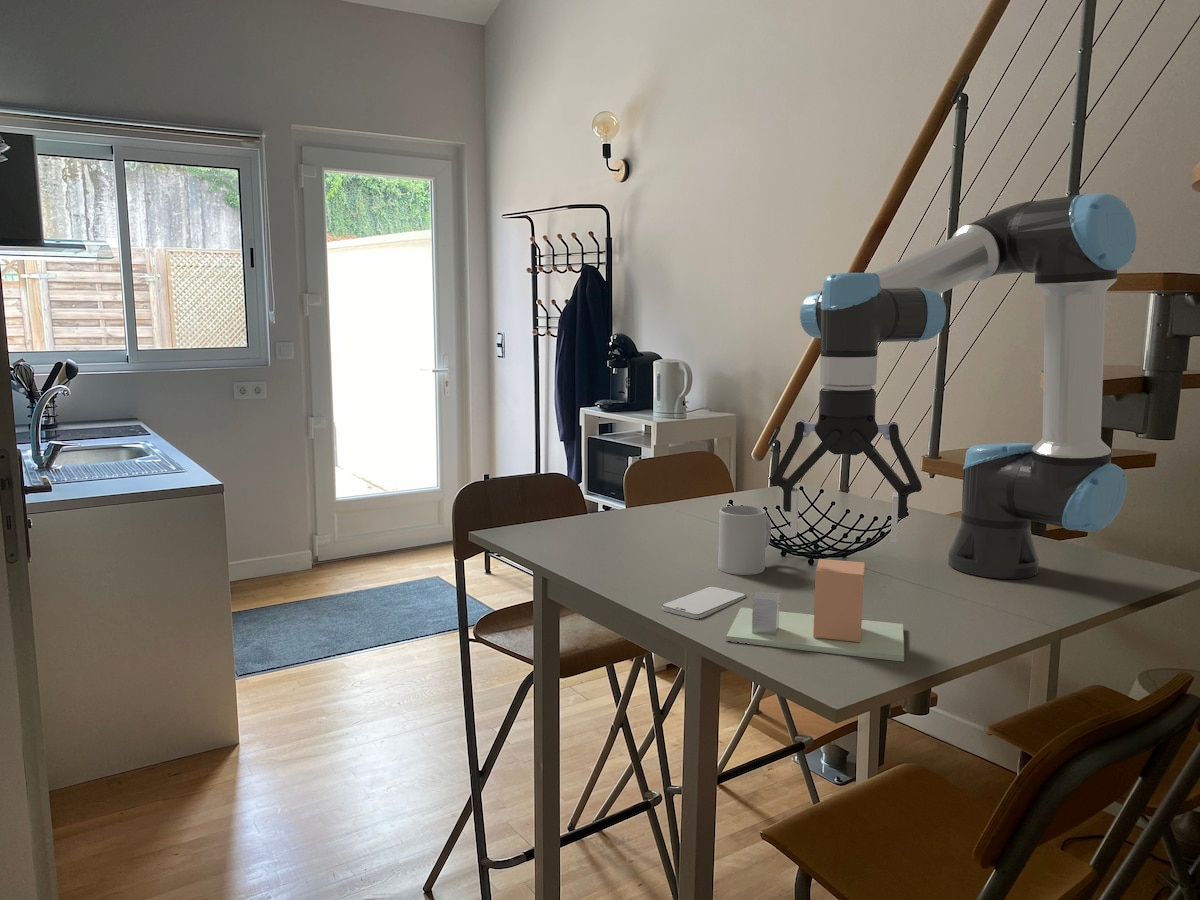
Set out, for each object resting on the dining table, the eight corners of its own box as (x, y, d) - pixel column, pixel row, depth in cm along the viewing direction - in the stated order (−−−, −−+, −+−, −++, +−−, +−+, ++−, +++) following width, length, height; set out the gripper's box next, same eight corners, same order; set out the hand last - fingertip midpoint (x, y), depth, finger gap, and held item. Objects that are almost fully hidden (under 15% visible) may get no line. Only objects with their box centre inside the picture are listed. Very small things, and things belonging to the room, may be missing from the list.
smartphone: (748, 594, 146) (697, 615, 134) (748, 601, 146) (697, 622, 135) (710, 585, 151) (659, 605, 139) (710, 592, 151) (658, 612, 139)
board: (902, 629, 131) (903, 624, 130) (903, 661, 118) (904, 655, 118) (740, 612, 138) (740, 607, 138) (726, 641, 126) (726, 635, 126)
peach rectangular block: (861, 626, 129) (864, 562, 127) (860, 642, 123) (863, 574, 121) (816, 622, 131) (819, 558, 129) (813, 637, 125) (815, 570, 123)
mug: (744, 578, 156) (745, 517, 154) (708, 568, 162) (709, 509, 161) (786, 565, 164) (788, 508, 162) (750, 556, 170) (751, 500, 168)
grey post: (778, 632, 129) (779, 593, 128) (775, 641, 126) (776, 600, 125) (755, 630, 130) (756, 591, 129) (751, 638, 127) (752, 598, 126)
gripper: (943, 386, 121) (936, 536, 124) (760, 383, 129) (758, 525, 132) (946, 391, 114) (938, 550, 117) (752, 388, 122) (750, 537, 125)
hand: (843, 537), depth 125 cm, fingers open, 13 cm apart
